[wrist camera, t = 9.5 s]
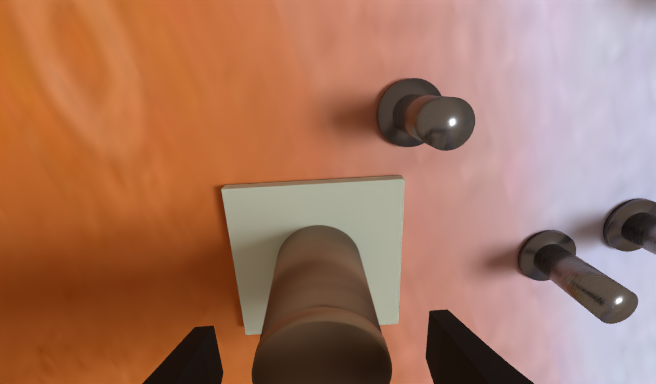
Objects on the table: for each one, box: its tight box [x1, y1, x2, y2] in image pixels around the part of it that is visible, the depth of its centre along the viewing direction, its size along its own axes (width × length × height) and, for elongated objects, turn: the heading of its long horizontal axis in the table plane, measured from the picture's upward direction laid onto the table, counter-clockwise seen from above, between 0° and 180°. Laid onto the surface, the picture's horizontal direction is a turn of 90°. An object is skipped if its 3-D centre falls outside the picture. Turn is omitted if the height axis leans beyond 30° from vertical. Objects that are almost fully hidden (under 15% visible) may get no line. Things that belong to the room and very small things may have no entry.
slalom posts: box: [377, 78, 656, 324], centre depth 12 cm, size 15×14×4 cm
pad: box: [221, 175, 405, 335], centre depth 15 cm, size 8×8×1 cm
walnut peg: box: [252, 225, 392, 384], centre depth 12 cm, size 4×4×6 cm
